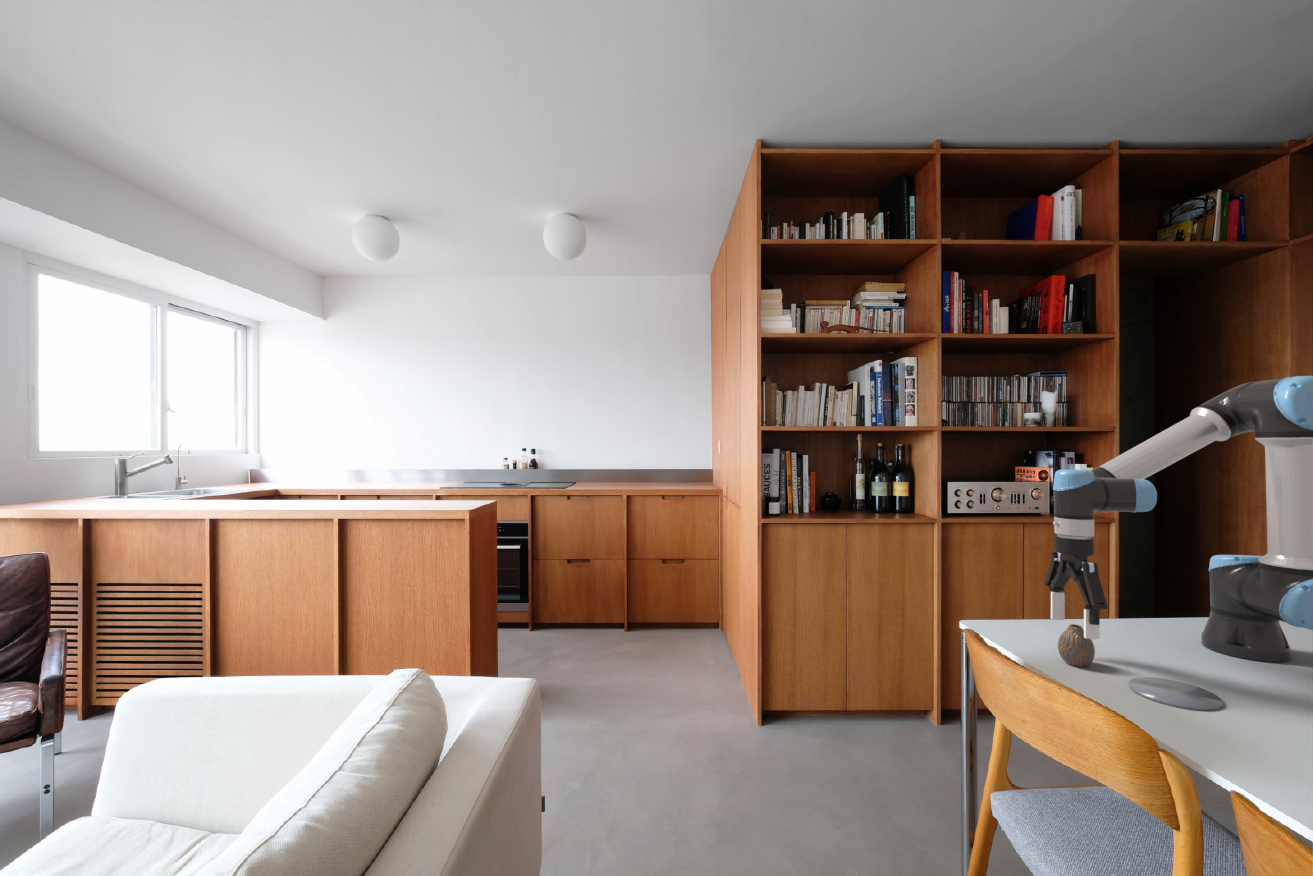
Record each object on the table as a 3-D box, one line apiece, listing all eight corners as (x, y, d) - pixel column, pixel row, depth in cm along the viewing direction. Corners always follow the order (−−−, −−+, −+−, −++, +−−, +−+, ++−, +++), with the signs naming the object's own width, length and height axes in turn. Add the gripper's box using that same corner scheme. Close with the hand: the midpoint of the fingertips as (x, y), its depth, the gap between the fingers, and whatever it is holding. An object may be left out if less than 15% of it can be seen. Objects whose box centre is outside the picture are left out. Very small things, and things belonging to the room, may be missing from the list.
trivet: (1185, 681, 121) (1185, 678, 121) (1243, 712, 107) (1243, 709, 107) (1113, 678, 123) (1113, 675, 123) (1160, 708, 110) (1159, 705, 110)
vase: (1101, 670, 128) (1100, 631, 128) (1067, 668, 129) (1066, 630, 129) (1085, 659, 134) (1084, 621, 135) (1052, 657, 136) (1051, 620, 136)
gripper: (1029, 527, 145) (1029, 611, 145) (1088, 545, 120) (1088, 646, 120) (1061, 528, 144) (1061, 612, 144) (1127, 546, 119) (1128, 648, 119)
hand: (1073, 628), depth 132 cm, fingers open, 13 cm apart
